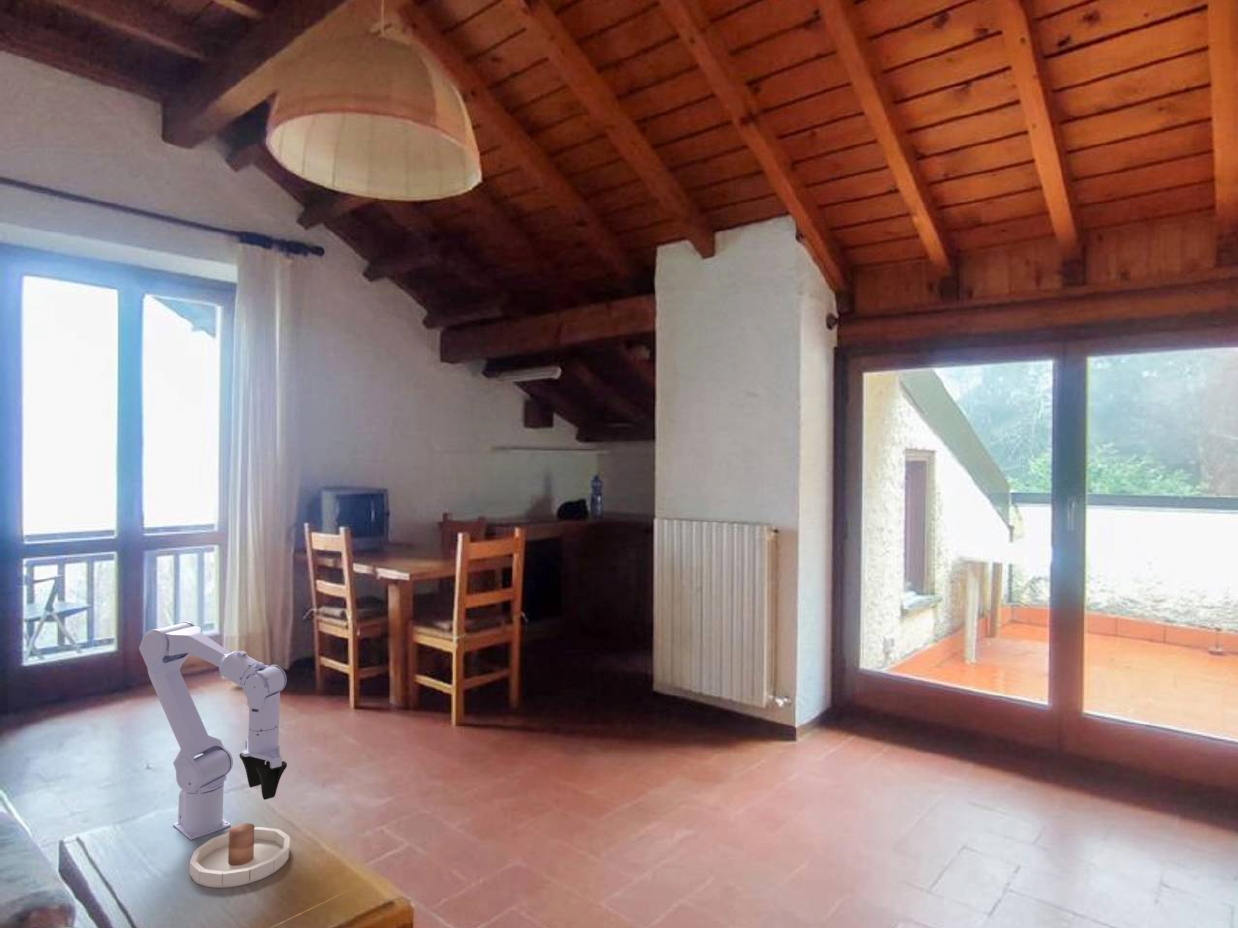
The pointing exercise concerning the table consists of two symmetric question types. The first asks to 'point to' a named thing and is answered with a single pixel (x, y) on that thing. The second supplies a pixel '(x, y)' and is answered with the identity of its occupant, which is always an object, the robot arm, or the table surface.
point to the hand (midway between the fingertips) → (261, 791)
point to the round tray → (218, 873)
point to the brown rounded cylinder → (241, 844)
